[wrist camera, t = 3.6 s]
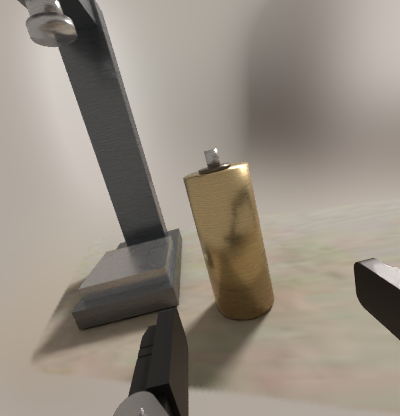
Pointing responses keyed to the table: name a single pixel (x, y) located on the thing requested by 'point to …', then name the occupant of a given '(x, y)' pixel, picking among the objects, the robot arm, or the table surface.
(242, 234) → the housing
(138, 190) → the press
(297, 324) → the table surface
